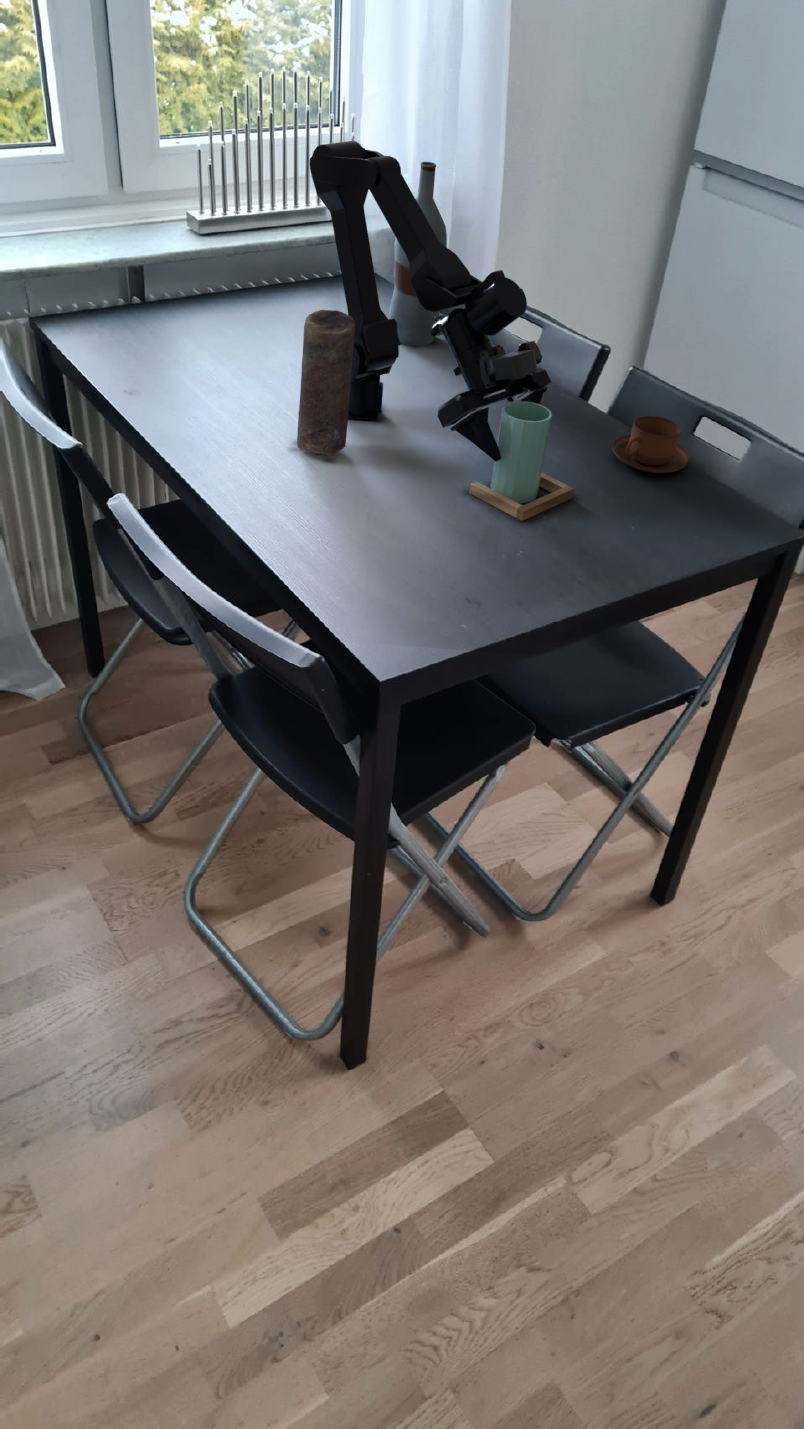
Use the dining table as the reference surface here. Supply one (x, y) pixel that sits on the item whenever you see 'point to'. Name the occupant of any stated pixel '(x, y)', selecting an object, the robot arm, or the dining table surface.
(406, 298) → the bottle
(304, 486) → the dining table surface
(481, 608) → the dining table surface
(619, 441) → the cup and saucer
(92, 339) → the dining table surface
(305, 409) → the brown textured cylinder
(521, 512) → the frame
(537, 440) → the glass
